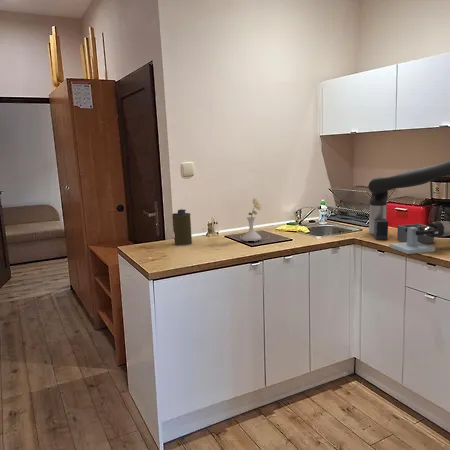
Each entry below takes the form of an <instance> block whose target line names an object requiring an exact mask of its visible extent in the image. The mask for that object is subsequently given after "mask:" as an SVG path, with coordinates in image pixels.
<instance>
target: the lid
mask: <svg viewBox="0 0 450 450" xmlns="http://www.w3.org/2000/svg"><path fill="white" fill-rule="evenodd" d="M416 231H418V228H415V227H407V242H397V243H390V244H389V248H390V249H393V250H395V251H398V252H401V253H404V254H407V255H411V254H412V255H413V254H422V253H423V254H424V253H432V252H433V253H434V252H436V247H434V246H431V245H429V244H427V243H423V244H422V243H419V242H417V239H418V235H416Z"/></svg>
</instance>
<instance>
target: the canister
mask: <svg viewBox="0 0 450 450" xmlns="http://www.w3.org/2000/svg"><path fill="white" fill-rule="evenodd" d="M186 211H187V210H186V209H183V208H180V209H178V210H177V212H173V213H172V215H171V216H172V231H173V236H174V245H175V246H180V247H181V246H189V245H192V244H193V239H192V236H193V235H192V224H191V221H192V220H191V213H190V212H186Z"/></svg>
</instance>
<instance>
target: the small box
mask: <svg viewBox="0 0 450 450" xmlns="http://www.w3.org/2000/svg"><path fill="white" fill-rule="evenodd" d="M388 234H389V221H388V220H387V218H386V219H374V234H373V237H374V238H375V240H380V241H382V240H385V241H386V240H387V241H388V238H389V237H388V236H389V235H388Z"/></svg>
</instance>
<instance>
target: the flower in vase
mask: <svg viewBox="0 0 450 450" xmlns="http://www.w3.org/2000/svg"><path fill="white" fill-rule="evenodd" d="M252 203H253V208H252V211H251V212H250V211H249V212H248V216H249V217H246V219H247V221H248V227H249V228H248V231H247V232H246V233H245V234H244V235H243V236H242V237H241V240H242V241H244V242H248V241H254V242H259V241H260V240H262V237H261V235H260V234H259V233H258V232H257V231H255V229H254V221H255V219H256V217H255V216H256V215H257V214H258V212H257V211H256V210H258V211H261V210H262V204H261V203H260V201H259V200H257V198H256V197H254V198H252ZM254 209H256V210H254ZM253 215H255V216H253ZM258 240H259V241H258Z"/></svg>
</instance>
